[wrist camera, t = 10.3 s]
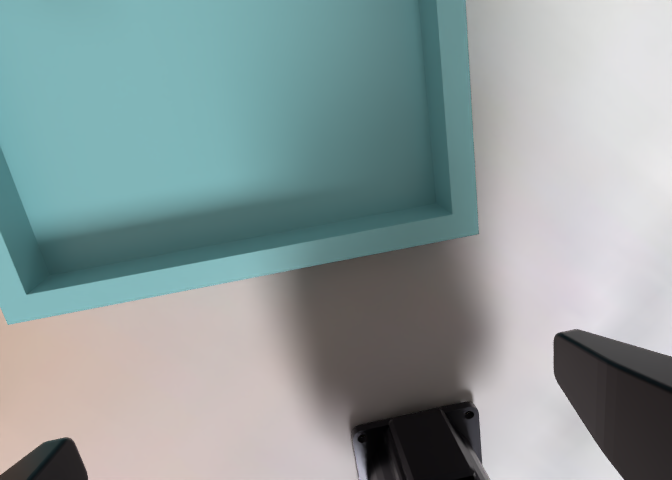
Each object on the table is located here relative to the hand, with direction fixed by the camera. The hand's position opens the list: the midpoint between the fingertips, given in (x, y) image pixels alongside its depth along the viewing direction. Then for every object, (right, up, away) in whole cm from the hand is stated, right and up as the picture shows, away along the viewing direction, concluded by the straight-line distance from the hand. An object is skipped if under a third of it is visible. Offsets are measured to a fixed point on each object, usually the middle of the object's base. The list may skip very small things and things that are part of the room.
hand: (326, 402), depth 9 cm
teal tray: (-5, +11, +9) cm, 15 cm away
